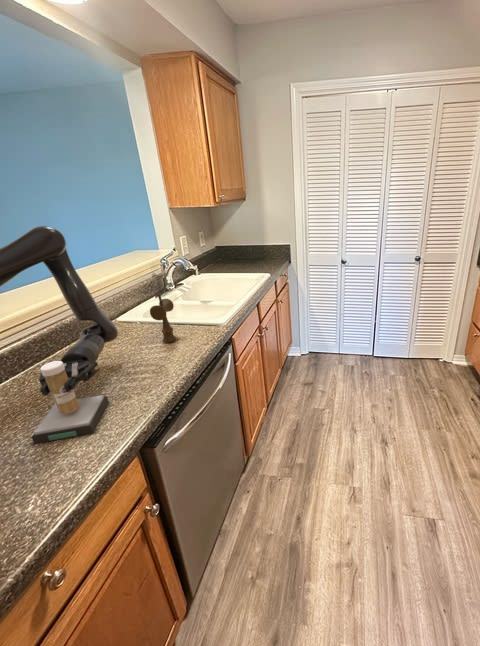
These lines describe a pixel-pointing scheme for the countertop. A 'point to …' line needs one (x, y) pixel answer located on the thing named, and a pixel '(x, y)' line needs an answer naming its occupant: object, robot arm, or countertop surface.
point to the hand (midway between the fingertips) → (55, 390)
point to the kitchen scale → (71, 420)
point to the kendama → (164, 317)
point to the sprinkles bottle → (59, 387)
